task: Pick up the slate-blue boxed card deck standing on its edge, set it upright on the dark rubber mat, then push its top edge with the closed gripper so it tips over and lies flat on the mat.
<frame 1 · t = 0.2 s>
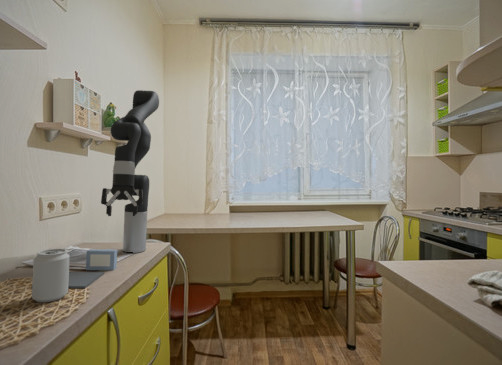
hand: (121, 216, 102), 17 cm above the countertop, tool pointing down, fingers open, 8 cm apart
can: (50, 298, 69), on the countertop
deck: (101, 269, 92), on the countertop
mat: (70, 280, 80), on the countertop
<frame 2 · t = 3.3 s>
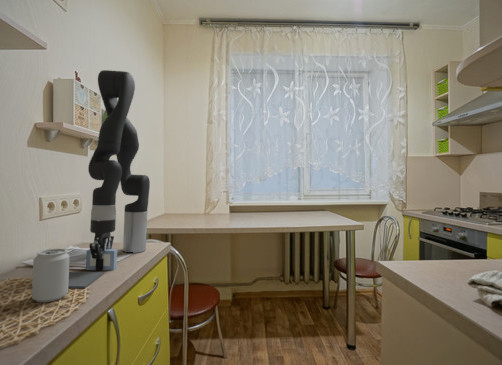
hand: (101, 268, 92), 0 cm above the countertop, tool pointing down, fingers closed on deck, 2 cm apart
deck: (101, 268, 92), on the countertop, touching gripper
everything else where it was.
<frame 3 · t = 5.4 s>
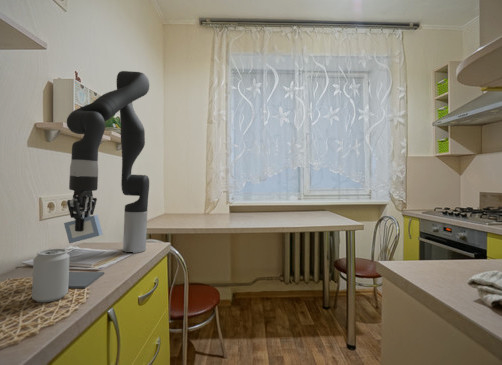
hand: (81, 230, 83), 15 cm above the countertop, tool pointing down, fingers closed on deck, 2 cm apart
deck: (86, 238, 84), point 12 cm above the countertop, tilted 16°, touching gripper
everything else where it was.
when the fingers open (2 cm above the countertop, at t = 7.9 s): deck stays where it is, resting on mat.
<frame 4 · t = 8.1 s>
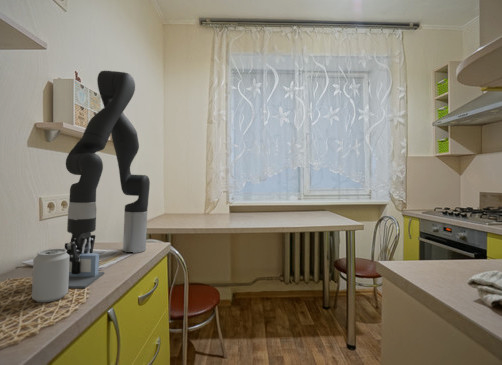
hand: (79, 271, 83), 2 cm above the countertop, tool pointing down, fingers open, 4 cm apart
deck: (81, 275, 83), point 1 cm above the countertop, touching mat
everything else where it was.
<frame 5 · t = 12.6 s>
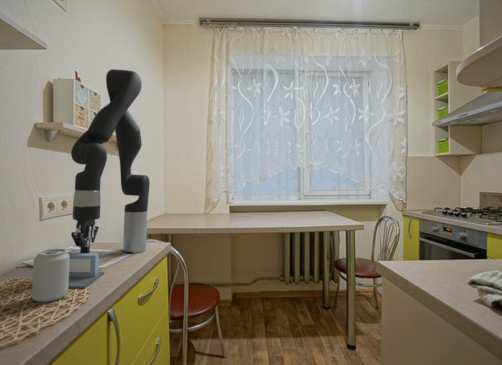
hand: (84, 258, 86), 5 cm above the countertop, tool pointing down, fingers closed
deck: (81, 275, 83), point 1 cm above the countertop, touching gripper, mat
everything else where it was.
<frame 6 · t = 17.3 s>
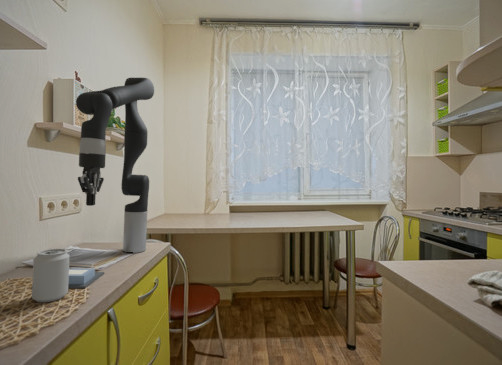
hand: (90, 205, 88), 22 cm above the countertop, tool pointing down, fingers closed
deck: (79, 272, 82), point 2 cm above the countertop, tilted 90°, touching mat
everything else where it was.
at the end: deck tilted 90°; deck inside the target area on the mat (2.3 cm from its centre), point 1.8 cm above the mat's base; the gripper is holding nothing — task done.
